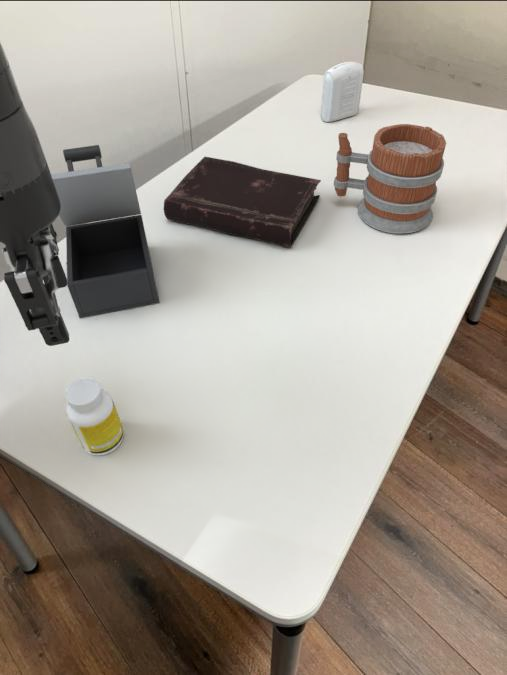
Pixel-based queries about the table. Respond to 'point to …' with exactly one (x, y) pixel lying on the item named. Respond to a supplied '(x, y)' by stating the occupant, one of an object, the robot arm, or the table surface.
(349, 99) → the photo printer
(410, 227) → the mug
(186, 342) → the table surface
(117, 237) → the dark grey open box
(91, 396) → the supplement bottle
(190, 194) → the diary
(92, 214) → the lid
